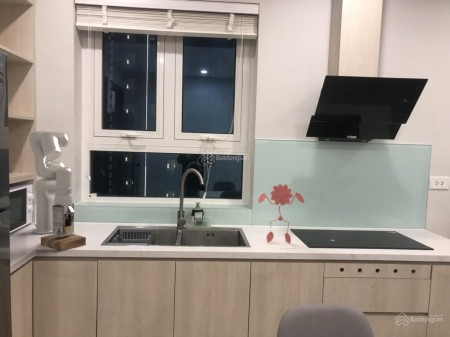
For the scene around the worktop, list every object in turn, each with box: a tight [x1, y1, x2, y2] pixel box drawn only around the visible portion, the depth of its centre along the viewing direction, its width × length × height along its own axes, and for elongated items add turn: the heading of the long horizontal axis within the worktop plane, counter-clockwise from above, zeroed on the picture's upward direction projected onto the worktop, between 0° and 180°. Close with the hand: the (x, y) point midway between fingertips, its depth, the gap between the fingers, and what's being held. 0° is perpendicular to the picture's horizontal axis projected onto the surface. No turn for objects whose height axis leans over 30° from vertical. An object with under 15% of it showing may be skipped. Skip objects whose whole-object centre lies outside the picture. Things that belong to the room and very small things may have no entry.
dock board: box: [40, 233, 87, 252], centre depth 182 cm, size 18×14×4 cm
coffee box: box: [52, 202, 75, 237], centre depth 181 cm, size 9×6×16 cm
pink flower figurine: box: [257, 183, 305, 245], centre depth 195 cm, size 15×26×35 cm, turn 85°
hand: (63, 224), depth 181 cm, fingers closed on coffee box, 7 cm apart
